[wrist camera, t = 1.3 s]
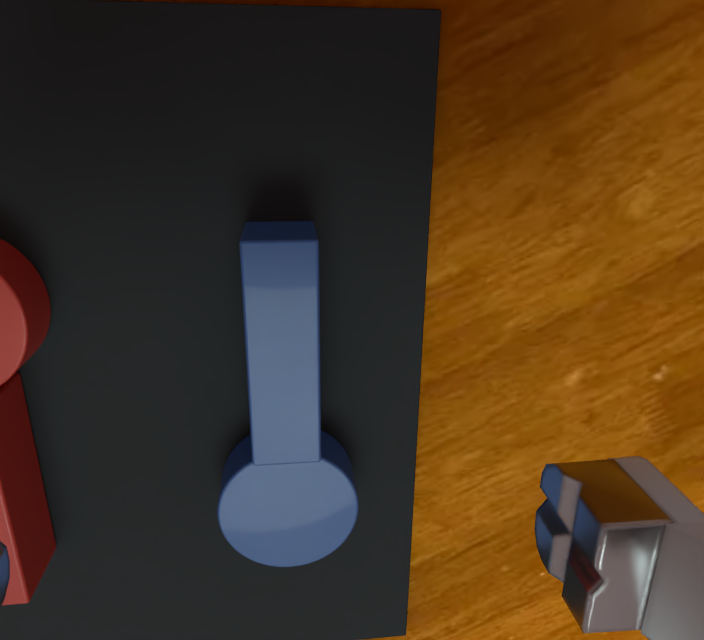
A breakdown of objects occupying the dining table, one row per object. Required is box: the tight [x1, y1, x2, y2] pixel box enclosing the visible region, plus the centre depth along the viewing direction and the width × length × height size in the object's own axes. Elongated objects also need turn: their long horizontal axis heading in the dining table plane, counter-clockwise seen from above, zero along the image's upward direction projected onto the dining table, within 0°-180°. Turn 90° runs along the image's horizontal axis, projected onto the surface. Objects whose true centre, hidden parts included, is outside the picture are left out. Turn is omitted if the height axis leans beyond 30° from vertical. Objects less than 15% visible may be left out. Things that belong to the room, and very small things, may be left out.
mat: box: [0, 0, 441, 640], centre depth 17 cm, size 20×15×1 cm
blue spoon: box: [217, 221, 359, 567], centre depth 16 cm, size 10×4×2 cm, turn 0°
